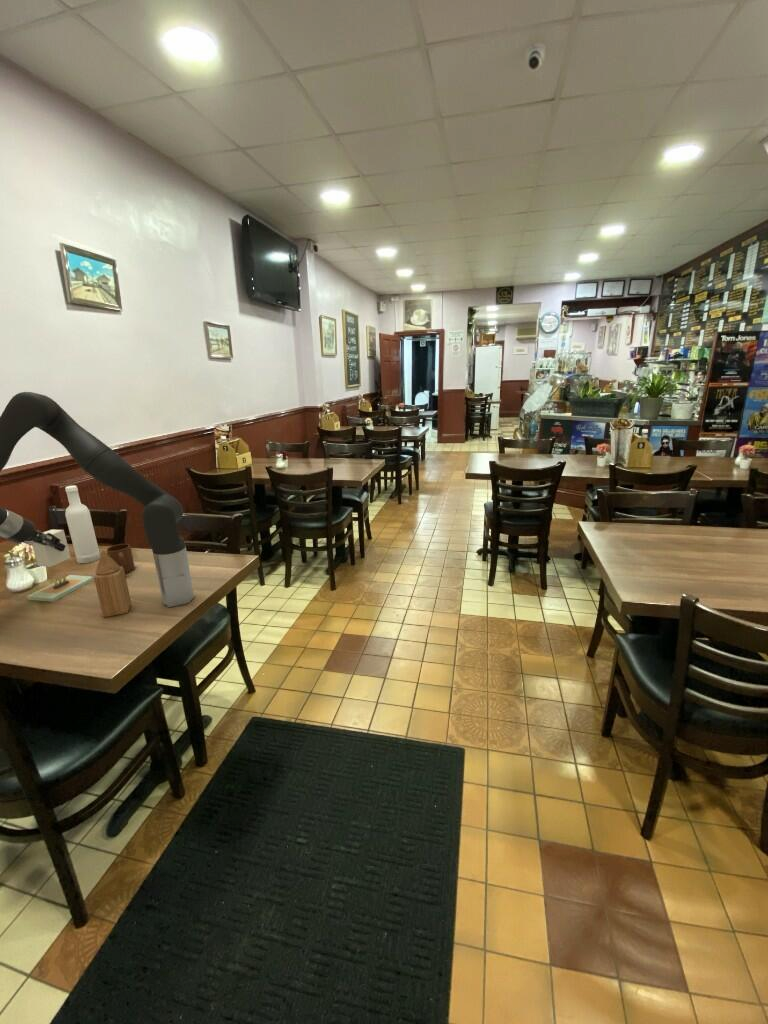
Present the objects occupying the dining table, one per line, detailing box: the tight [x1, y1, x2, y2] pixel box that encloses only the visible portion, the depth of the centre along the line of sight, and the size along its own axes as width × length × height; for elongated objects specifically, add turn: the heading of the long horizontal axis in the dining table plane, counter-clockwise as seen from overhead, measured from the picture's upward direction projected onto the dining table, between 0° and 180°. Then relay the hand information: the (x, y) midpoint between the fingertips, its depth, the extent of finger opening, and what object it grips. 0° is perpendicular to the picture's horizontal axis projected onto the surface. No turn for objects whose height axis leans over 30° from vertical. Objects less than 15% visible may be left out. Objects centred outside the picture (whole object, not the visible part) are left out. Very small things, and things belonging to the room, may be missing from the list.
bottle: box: [64, 485, 101, 565], centre depth 167 cm, size 8×8×30 cm
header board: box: [26, 573, 95, 603], centre depth 146 cm, size 16×10×5 cm, turn 168°
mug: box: [106, 543, 136, 574], centre depth 157 cm, size 12×8×9 cm, turn 37°
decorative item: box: [93, 550, 132, 618], centre depth 129 cm, size 7×7×20 cm
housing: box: [31, 528, 72, 568], centre depth 142 cm, size 8×5×10 cm, turn 168°
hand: (56, 548), depth 144 cm, fingers closed on housing, 4 cm apart
